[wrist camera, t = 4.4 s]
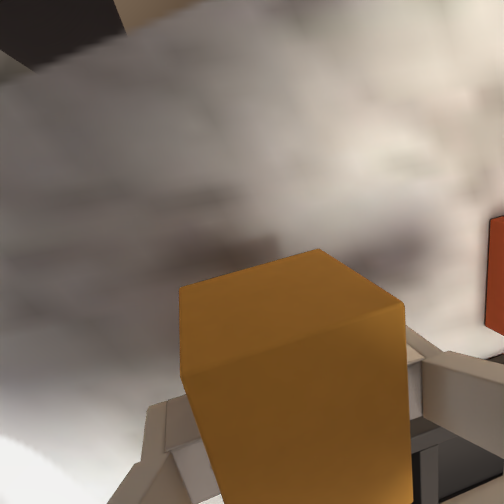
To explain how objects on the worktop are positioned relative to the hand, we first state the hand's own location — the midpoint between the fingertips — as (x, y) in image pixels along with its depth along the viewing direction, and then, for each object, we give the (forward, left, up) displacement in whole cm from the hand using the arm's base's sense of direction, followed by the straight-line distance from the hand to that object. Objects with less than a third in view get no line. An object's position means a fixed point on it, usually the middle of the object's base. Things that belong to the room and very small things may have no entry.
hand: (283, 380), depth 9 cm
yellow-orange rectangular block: (0, 0, -2) cm, 2 cm away
